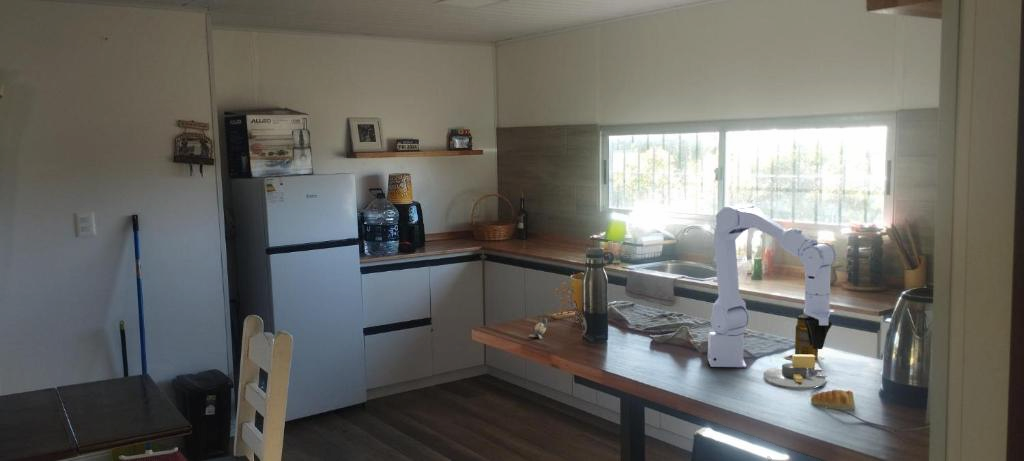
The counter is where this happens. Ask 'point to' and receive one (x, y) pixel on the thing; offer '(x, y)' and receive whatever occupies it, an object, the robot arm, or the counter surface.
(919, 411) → the counter surface
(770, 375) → the post plate
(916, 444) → the counter surface
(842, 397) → the pastry
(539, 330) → the grey cream animal figurine
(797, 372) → the multicoloured piece
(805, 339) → the condiment
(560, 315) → the gingerbread man figurine
